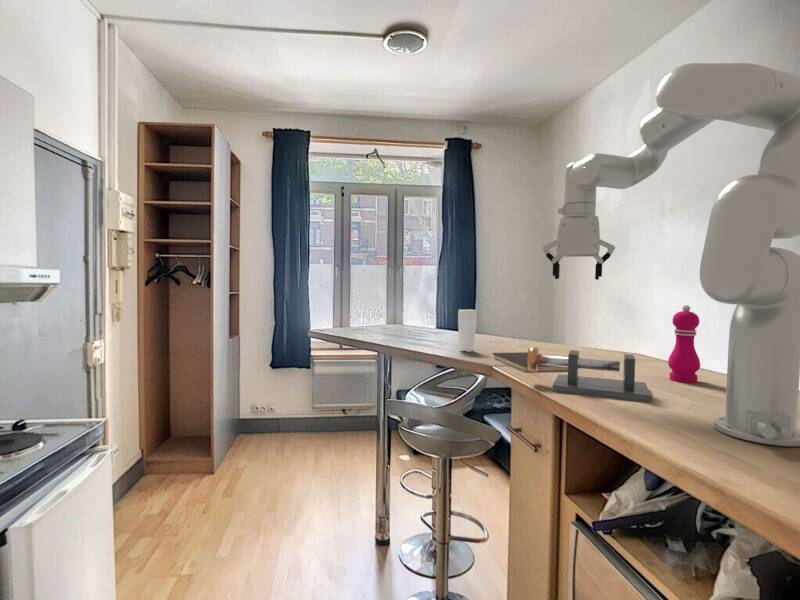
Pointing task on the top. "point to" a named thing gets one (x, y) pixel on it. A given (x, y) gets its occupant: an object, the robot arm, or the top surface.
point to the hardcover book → (524, 362)
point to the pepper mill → (684, 347)
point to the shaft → (537, 359)
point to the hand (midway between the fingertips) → (576, 279)
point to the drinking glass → (467, 329)
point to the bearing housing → (602, 382)
